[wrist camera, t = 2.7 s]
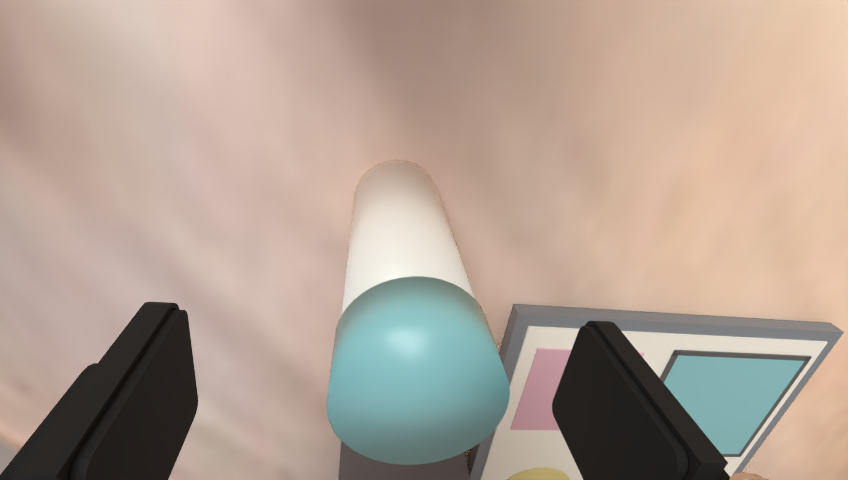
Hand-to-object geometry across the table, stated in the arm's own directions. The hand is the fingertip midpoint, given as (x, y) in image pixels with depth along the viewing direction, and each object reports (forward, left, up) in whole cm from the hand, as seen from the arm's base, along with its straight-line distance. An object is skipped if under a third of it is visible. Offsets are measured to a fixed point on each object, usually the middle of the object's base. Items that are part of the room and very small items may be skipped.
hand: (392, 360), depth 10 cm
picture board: (-16, +14, -9) cm, 23 cm away
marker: (0, 0, -9) cm, 9 cm away
